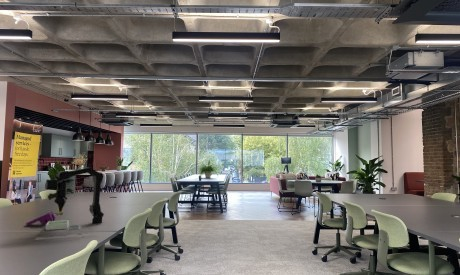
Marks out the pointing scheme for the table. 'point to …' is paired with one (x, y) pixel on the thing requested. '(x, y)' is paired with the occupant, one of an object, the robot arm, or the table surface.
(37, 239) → the table surface
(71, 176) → the robot arm
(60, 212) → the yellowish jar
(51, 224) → the bin
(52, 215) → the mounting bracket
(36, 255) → the table surface
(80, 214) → the table surface
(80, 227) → the socket block
